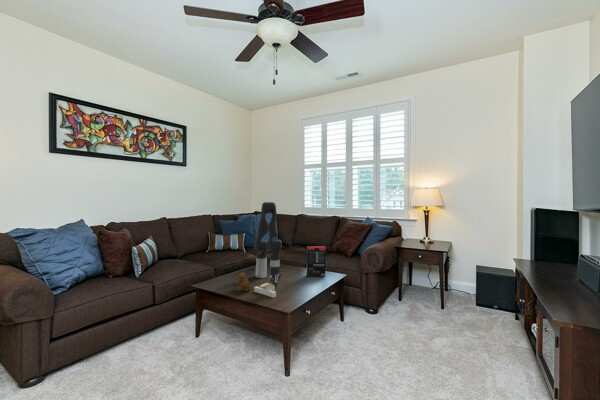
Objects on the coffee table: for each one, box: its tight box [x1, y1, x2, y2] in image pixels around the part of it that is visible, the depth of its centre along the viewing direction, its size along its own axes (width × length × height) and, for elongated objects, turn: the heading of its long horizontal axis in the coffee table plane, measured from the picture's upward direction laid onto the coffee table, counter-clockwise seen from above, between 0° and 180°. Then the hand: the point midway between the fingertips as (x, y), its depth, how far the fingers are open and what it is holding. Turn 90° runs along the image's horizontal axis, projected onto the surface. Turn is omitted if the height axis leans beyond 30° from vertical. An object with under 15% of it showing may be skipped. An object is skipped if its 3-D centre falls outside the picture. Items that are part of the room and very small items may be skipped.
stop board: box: [253, 285, 277, 298], centre depth 210 cm, size 20×2×4 cm, turn 53°
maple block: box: [259, 282, 276, 292], centre depth 215 cm, size 8×8×5 cm
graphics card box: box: [305, 245, 327, 278], centre depth 255 cm, size 17×7×27 cm, turn 96°
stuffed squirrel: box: [235, 272, 252, 292], centre depth 218 cm, size 10×14×13 cm
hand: (275, 287), depth 219 cm, fingers closed
